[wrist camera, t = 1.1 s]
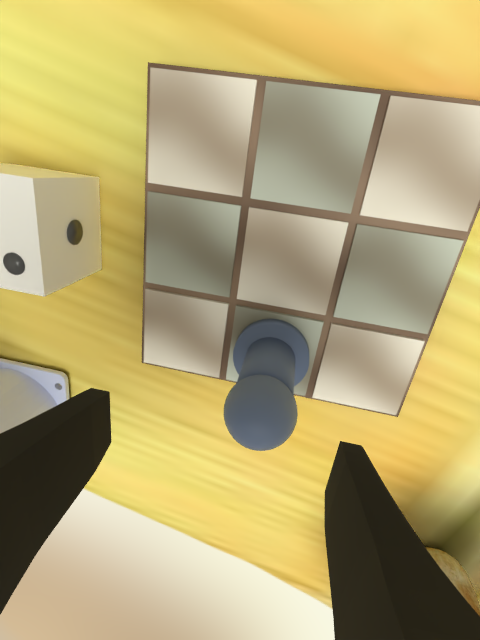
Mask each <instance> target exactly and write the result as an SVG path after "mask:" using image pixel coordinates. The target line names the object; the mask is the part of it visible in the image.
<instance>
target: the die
mask: <svg viewBox="0 0 480 640" xmlns="http://www.w3.org/2000/svg"><path fill="white" fill-rule="evenodd" d="M100 270H102V253H101V219H100V185H99V177H96V176H89V175H83V174H76V173H70V172H63V171H57V170H50V169H44V168H37V167H31V166H24V165H18V164H9V163H0V288H4V289H9V290H14V291H19V292H24V293H29V294H34V295H39V296H47V295H49V294H51V293H53V292H55V291H57V290H59V289H62V288H64V287H66V286H68V285H70V284H72V283H74V282H76V281H78V280H81V279H83V278H85V277H87V276H89V275H91V274H93V273H95V272H98V271H100Z"/></svg>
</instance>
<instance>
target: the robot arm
mask: <svg viewBox="0 0 480 640" xmlns="http://www.w3.org/2000/svg"><path fill="white" fill-rule="evenodd" d="M59 384H60V385H61V386H60V385H59ZM110 443H111V422H110V395H109V392H108V391H103V390H98V389H94V388H90V389H88V390H86V391H84V392H82V393H80V394H78V395H76V396H74V397H72V398H70V397H69V384H68V377H67V375H66V374H65V373H64V372H61V371H57V370H52V369H48V368H43V367H39V366H34V365H30V364H25V363H20V362H16V361H11V360H7V359H2V358H0V614H1V613H2V611H3V609H4V607H5V605H6V604H7V602H8V600H9V599H10V597H11V595H12V593H13V592H14V590H15V588H16V587H17V585H18V583H19V582H20V580H21V578H22V577H23V575H24V573H25V572H26V570H27V568H28V567H29V565H30V563H31V562H32V560H33V558H34V556H35V555H36V554H37V552H38V551H39V549H40V548H41V546H42V545H43V543H44V542H45V540H46V539H47V538H48V536H49V535H50V533H51V532H52V531H53V529H54V528H55V527H56V525H57V524H58V522H59V521H60V520H61V518H62V517H63V515H64V514H65V513H66V511H67V510H68V509H69V507H70V506H71V505H72V503H73V502H74V500H75V499H76V498H77V496H78V495H79V494H80V492H81V491H82V489H83V488H84V486H85V485H86V484H87V482H88V481H89V479H90V478H91V477H92V475H93V474H94V472H95V471H96V469H97V467H98V465H99V464H100V462H101V460H102V458H103V457H104V455H105V453H106V451H107V449H108V447H109V445H110ZM325 537H326V547H327V558H328V567H329V577H330V587H331V597H332V607H333V616H334V632H335V640H480V616H479V615H478V614H477V612H476V611H475V610H474V609H473V608H472V607H471V605H470V604H469V603H468V602H467V601H466V599H465V598H464V597H463V596H462V595H461V593H460V592H459V591H458V589H457V588H456V587H455V586H454V584H453V583H452V582H451V581H450V579H449V578H448V577H447V576H446V574H445V573H444V572H443V571H442V569H441V568H440V567H439V565H438V564H437V563H436V561H435V560H434V559H433V557H432V556H431V555H430V553H429V552H428V550H427V549H426V548H425V546H424V545H423V543H422V542H421V540H420V539H419V538H418V536H417V535H416V533H415V532H414V530H413V529H412V527H411V526H410V524H409V523H408V521H407V520H406V518H405V517H404V515H403V514H402V512H401V511H400V509H399V507H398V506H397V504H396V503H395V501H394V500H393V498H392V496H391V495H390V493H389V491H388V490H387V488H386V487H385V485H384V483H383V481H382V480H381V478H380V476H379V475H378V473H377V471H376V469H375V468H374V466H373V464H372V462H371V461H370V459H369V457H368V455H367V454H366V452H365V450H364V449H363V447H362V446H361V445H356V444H351V443H347V442H342V441H340V444H339V447H338V450H337V454H336V457H335V460H334V463H333V467H332V470H331V473H330V477H329V480H328V483H327V487H326V490H325Z"/></svg>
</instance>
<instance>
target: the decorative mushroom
mask: <svg viewBox="0 0 480 640" xmlns="http://www.w3.org/2000/svg"><path fill="white" fill-rule="evenodd" d="M426 549H427V550H428V552H429V553H430V555H431V556H432V557H433V559H434V560H435V561H436V563H437V564H438V565H439V567H440V568H441V569H442V571H443V572H444V573H445V574H446V576H447V577H448V578H449V579H450V581H451V582H452V583H453V584H454V586H455V587H456V588H457V589H458V591H459V592H460V593H461V595H462V596H463V597H464V598H465V599H466V601H467V602H468V603H469V604H470V605H471V607H472V608H473V609H474V610H475V611H476V612H477V614H478V615H479V616H480V605H479V602H478V599H477V597H476V594H475V591H474V589H473V587H472V584H471V582H470V580H469V578H468V576H467V574H466V572H465V570H464V569H463V568H462V567H461V565H460V564H459V563H458V561H457V560H456V559H455V558H453V557H452V556H450V555H449V554H447V553H446V552H444V551H441V550H439V549H434V548H430V547H427V548H426Z"/></svg>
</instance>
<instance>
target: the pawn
mask: <svg viewBox="0 0 480 640" xmlns="http://www.w3.org/2000/svg"><path fill="white" fill-rule="evenodd" d="M233 362H234V366H235V369H236V371H237V373H238V374H239V377H238V380H237V383H236V385H234V387H233V388H232V389H231V390H230V392H229V394H228V396H227V398H226V401H225V405H224V420H225V424H226V426H227V429H228V431H229V433H230V434H231V435H232V437H233V438H234V439H235V440H236V441H237V442H238V443H239V444H241V445H243V446H244V447H246V448H249V449H252V450H257V451H265V450H270V449H273V448H276V447H278V446H280V445H281V444H283V443H284V442H285V441H286V440H287V439H288V438H289V437H290V435H291V434H292V432H293V430H294V428H295V425H296V422H297V405H296V401H295V398H294V386H296V385H297V384H298V383H300V382H301V380H302V379H303V378H304V377H305V375H306V373H307V371H308V367H309V347H308V343H307V341H306V339H305V337H304V336H303V334H302V333H301V332H300V331H299V330H298V329H297V328H296V327H295V326H293V325H292V324H290V323H288V322H285V321H283V320H279V319H262V320H258V321H256V322H253V323H252V324H250V325H248V326H247V327H246V328H245V329H244V330H243V331H242V332H241V334H240V335H239V337H238V339H237V342H236V344H235V347H234V350H233Z"/></svg>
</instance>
